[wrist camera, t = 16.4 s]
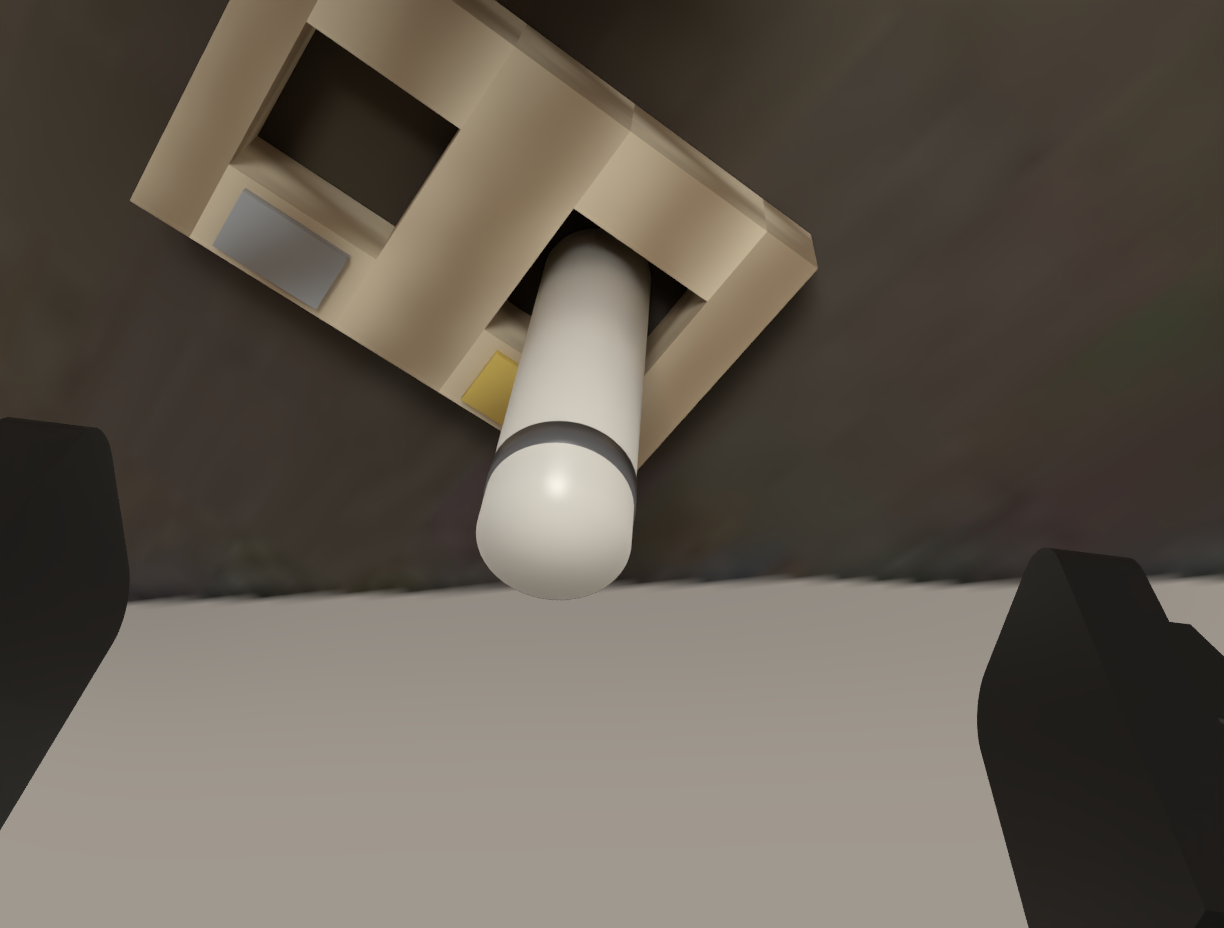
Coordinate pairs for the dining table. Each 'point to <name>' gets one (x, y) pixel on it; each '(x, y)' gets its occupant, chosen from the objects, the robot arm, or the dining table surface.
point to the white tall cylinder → (572, 426)
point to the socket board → (469, 200)
